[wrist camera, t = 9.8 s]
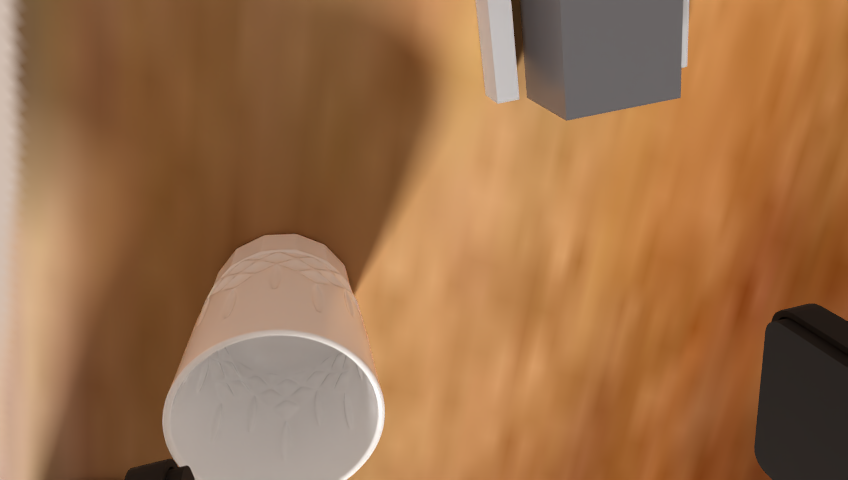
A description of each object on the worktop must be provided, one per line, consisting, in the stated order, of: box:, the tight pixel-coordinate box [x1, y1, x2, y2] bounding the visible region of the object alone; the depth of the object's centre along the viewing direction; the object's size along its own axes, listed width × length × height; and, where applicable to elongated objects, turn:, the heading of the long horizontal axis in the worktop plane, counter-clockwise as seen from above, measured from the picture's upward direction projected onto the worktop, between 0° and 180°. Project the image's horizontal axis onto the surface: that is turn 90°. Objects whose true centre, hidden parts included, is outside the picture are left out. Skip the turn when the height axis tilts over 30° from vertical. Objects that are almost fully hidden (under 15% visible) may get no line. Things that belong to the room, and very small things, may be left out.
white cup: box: [162, 234, 385, 480], centre depth 27 cm, size 8×8×10 cm
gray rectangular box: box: [520, 0, 683, 120], centre depth 26 cm, size 7×5×5 cm
